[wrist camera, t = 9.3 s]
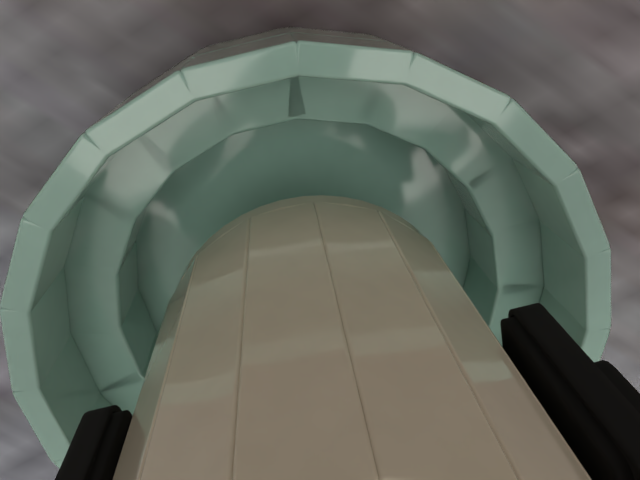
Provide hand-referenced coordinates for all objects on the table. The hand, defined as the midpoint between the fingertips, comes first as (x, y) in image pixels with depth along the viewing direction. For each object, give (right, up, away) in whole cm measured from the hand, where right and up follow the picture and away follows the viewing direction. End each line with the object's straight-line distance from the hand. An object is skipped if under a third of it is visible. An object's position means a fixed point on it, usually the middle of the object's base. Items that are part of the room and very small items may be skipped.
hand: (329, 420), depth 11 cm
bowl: (-1, +3, +6) cm, 7 cm away
